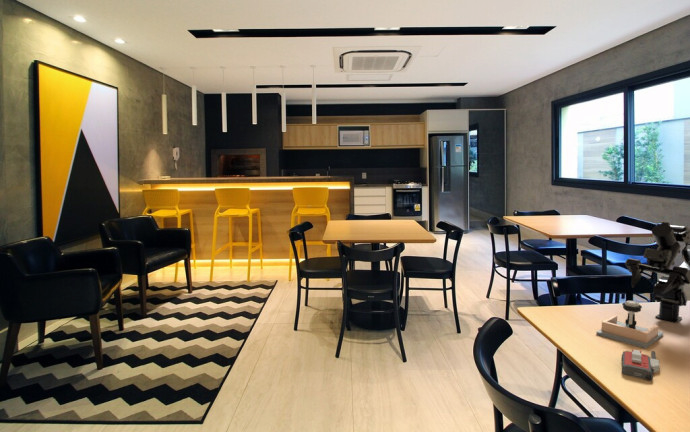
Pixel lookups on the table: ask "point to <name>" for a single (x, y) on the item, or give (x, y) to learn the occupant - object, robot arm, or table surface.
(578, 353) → the table surface
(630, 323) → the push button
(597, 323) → the table surface
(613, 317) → the end holder
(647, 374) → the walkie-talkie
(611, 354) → the table surface
